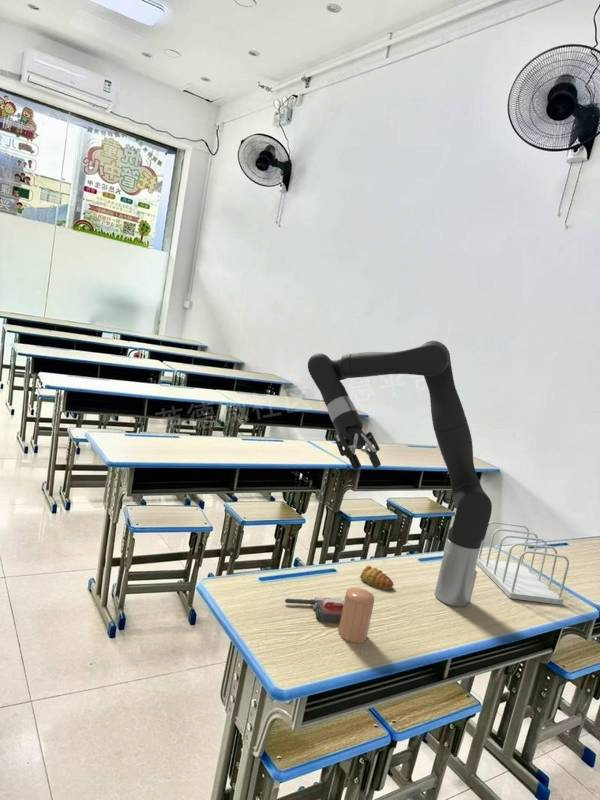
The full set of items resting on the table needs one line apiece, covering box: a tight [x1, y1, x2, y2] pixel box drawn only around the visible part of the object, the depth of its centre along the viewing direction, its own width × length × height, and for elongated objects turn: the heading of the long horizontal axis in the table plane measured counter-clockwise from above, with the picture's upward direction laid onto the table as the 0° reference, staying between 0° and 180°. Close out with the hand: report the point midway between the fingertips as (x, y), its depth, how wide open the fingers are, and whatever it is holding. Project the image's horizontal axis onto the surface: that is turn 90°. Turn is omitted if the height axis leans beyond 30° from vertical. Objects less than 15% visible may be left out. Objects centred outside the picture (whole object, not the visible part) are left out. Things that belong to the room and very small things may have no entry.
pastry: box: [359, 565, 394, 591], centre depth 157 cm, size 9×7×4 cm
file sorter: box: [476, 520, 570, 606], centre depth 174 cm, size 25×17×16 cm
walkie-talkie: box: [284, 596, 344, 624], centre depth 135 cm, size 9×4×20 cm
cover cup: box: [337, 587, 375, 644], centre depth 127 cm, size 7×7×10 cm
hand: (368, 467), depth 146 cm, fingers open, 8 cm apart
